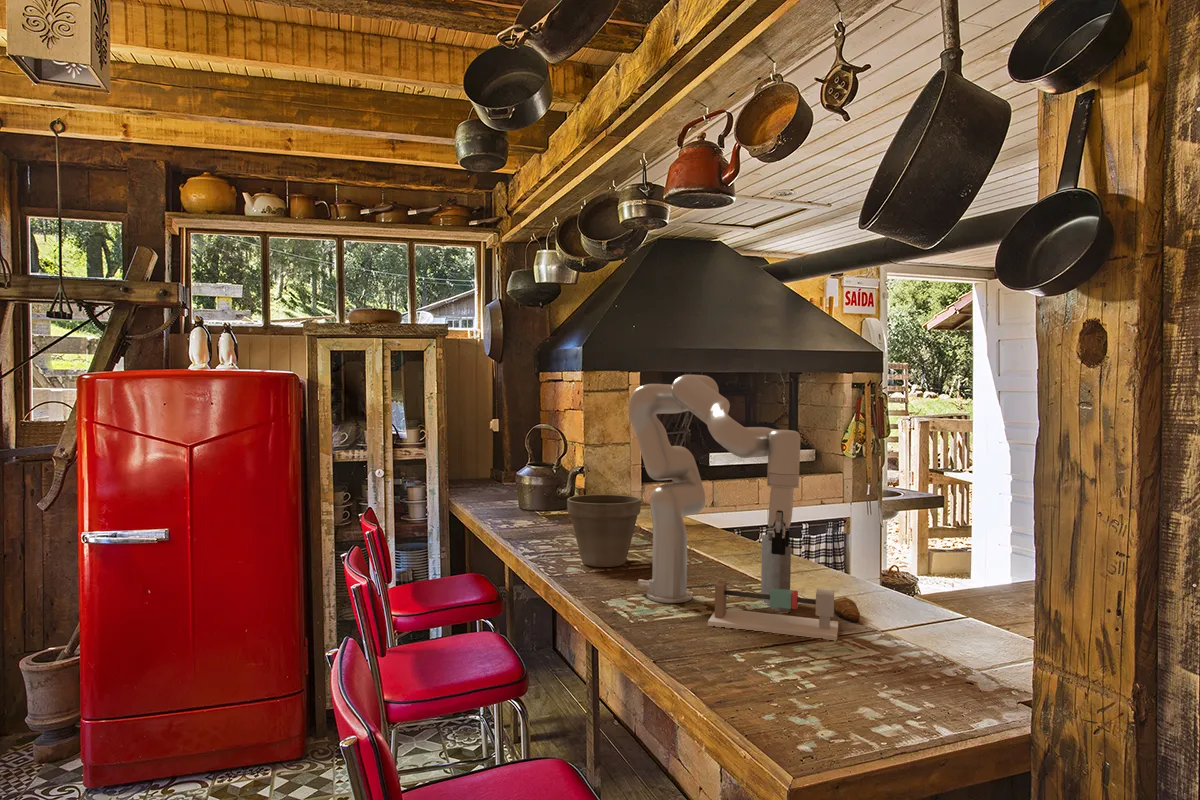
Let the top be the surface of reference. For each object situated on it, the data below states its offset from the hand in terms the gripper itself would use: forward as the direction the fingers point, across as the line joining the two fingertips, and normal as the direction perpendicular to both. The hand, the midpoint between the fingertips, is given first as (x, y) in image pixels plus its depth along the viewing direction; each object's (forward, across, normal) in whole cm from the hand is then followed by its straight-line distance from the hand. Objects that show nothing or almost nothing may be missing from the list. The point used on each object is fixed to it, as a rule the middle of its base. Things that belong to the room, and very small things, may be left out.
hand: (780, 550), depth 178 cm
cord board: (+19, 0, -1) cm, 19 cm away
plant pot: (+21, -48, -62) cm, 81 cm away
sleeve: (+14, 0, +1) cm, 14 cm away
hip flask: (+19, -19, -3) cm, 27 cm away
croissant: (+19, -16, +15) cm, 29 cm away
